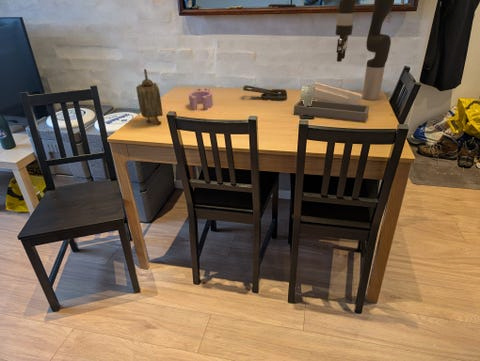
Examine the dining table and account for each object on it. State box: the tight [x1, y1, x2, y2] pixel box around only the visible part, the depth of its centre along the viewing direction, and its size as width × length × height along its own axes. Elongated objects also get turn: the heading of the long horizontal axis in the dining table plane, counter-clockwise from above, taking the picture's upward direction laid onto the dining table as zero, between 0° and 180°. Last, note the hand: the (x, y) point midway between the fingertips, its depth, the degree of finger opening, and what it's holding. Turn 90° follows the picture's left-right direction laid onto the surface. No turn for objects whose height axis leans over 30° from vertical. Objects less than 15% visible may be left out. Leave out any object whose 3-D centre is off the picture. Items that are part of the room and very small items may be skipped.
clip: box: [188, 87, 214, 111], centre depth 191 cm, size 20×12×7 cm, turn 0°
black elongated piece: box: [242, 84, 288, 102], centre depth 198 cm, size 9×7×25 cm
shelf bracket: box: [312, 82, 363, 105], centre depth 181 cm, size 6×25×13 cm, turn 71°
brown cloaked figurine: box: [135, 68, 164, 125], centre depth 164 cm, size 14×9×25 cm, turn 21°
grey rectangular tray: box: [293, 98, 370, 124], centre depth 171 cm, size 12×34×4 cm, turn 66°
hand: (340, 59), depth 171 cm, fingers open, 8 cm apart
